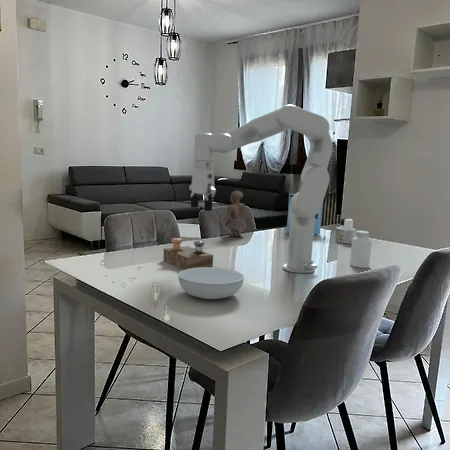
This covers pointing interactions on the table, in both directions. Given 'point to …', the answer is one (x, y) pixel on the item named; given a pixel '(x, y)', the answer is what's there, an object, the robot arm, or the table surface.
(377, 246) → the table surface
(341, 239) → the container
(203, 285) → the serving bowl
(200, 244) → the plug
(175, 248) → the rust plug
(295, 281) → the table surface
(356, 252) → the pill bottle
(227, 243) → the table surface
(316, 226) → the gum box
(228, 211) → the clay figurine
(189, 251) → the block
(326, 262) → the table surface
